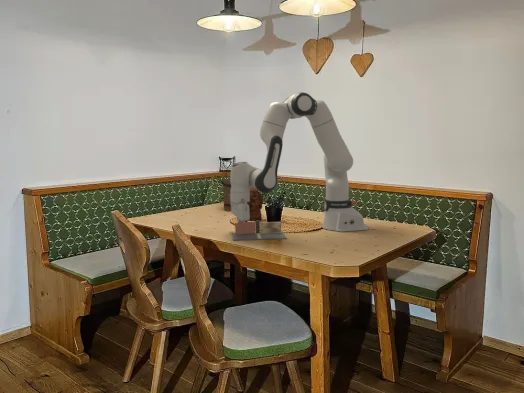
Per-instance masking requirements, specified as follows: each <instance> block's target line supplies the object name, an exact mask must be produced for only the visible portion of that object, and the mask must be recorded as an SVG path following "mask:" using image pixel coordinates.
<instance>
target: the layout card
mask: <svg viewBox="0 0 524 393" xmlns="http://www.w3.org/2000/svg"><path fill="white" fill-rule="evenodd" d="M231 236H232V241H262V240H263V241H266V240H269V241H270V240H271V241H273V240H287V237H286V234H285V233H284V231H282V230H281V233H247V234H235V232H232V233H231Z"/></svg>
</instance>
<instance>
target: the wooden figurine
mask: <svg viewBox="0 0 524 393" xmlns="http://www.w3.org/2000/svg"><path fill="white" fill-rule="evenodd" d="M262 196H263V195H262V192H261V191H259V190H256V189H253V188H251V189H250V201H249V202H247V204H248V205H249V213H250V219H249V221H255V222H256V220H260V221H261V220H262V219H263V217H262V208H263V200H262V199H263V197H262Z"/></svg>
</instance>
